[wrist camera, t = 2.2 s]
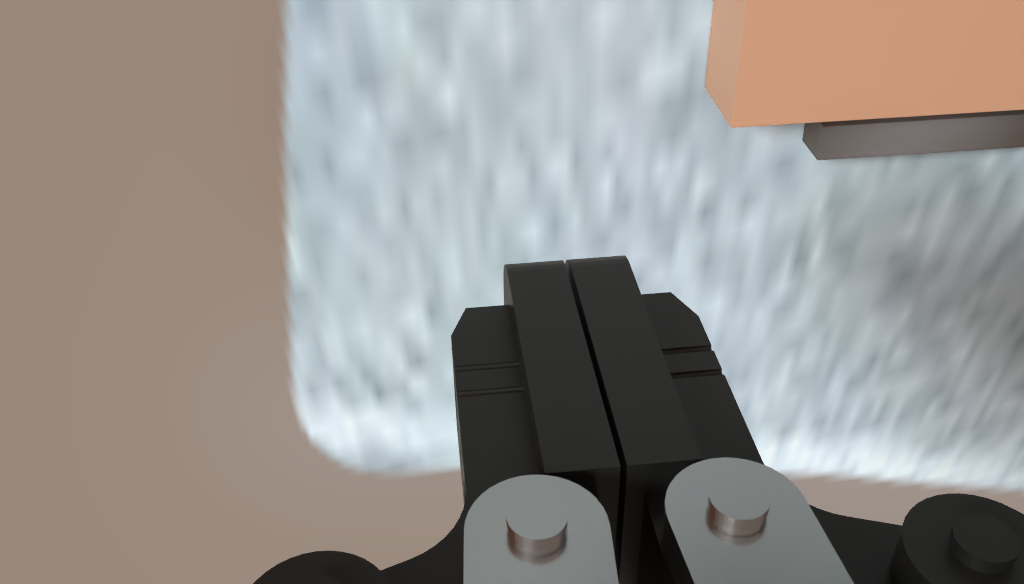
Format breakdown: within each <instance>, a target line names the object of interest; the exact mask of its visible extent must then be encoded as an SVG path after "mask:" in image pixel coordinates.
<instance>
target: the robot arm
mask: <svg viewBox="0 0 1024 584" xmlns="http://www.w3.org/2000/svg"><path fill="white" fill-rule="evenodd" d="M451 341H452V357H453V372H454V387H455V403H456V418H457V432H458V443H459V454H460V464H461V475H462V486H463V496H464V509H463V511H462V514H461V516H460V518H459V520H458V522H457V523H456V525H455V526H454V528H453V529H452V530H451V531H450V532H449V534H448V535H447V536H446V537H445V538H444V539H443V540H441V541H440V542H439V543H438V544H437V545H436V546H434V547H433V548H431V549H429V550H428V551H426V552H424V553H423V554H421V555H418V556H416V557H414V558H412V559H410V560H407V561H404V562H402V563H399V564H396V565H394V566H392V567H389V568H386V569H384V570H381V571H380V570H379V569H378V568H377V567H376V566H375V565H373V564H372V563H370V562H369V561H367V560H365V559H363V558H361V557H359V556H356V555H353V554H349V553H345V552H338V551H316V552H311V553H306V554H302V555H299V556H296V557H293V558H290V559H288V560H286V561H283V562H281V563H280V564H277V565H276V566H274V567H273V568H271V569H270V570H268V571H267V572H265V573H264V574H263V575H262V576H261V577H260V578H259V579H257V580H256V581H255V582H254V583H253V584H1024V514H1022V513H1020V512H1018V511H1016V510H1014V509H1012V508H1010V507H1008V506H1006V505H1004V504H1002V503H999V502H996V501H993V500H991V499H988V498H984V497H979V496H975V495H968V494H943V495H936V496H933V497H930V498H927V499H925V500H923V501H921V502H919V503H917V504H916V505H915V506H914V507H913V508H912V509H911V510H910V511H909V512H908V514H907V515H906V517H905V520H904V523H903V525H902V526H901V525H895V524H889V523H883V522H877V521H870V520H865V519H859V518H853V517H846V516H842V515H838V514H833V513H830V512H827V511H824V510H821V509H818V508H816V507H814V506H811V505H809V504H808V503H807V501H806V499H805V497H804V496H803V495H802V493H801V492H800V490H799V489H798V488H797V487H796V486H795V485H794V484H793V483H792V482H791V481H790V480H789V479H787V478H786V477H785V476H783V475H782V474H781V473H779V472H777V471H775V470H774V469H772V468H770V467H767V466H765V465H764V463H763V461H762V459H761V457H760V455H759V452H758V450H757V448H756V446H755V443H754V441H753V439H752V436H751V434H750V432H749V430H748V427H747V425H746V423H745V421H744V418H743V416H742V414H741V411H740V409H739V407H738V405H737V402H736V400H735V398H734V396H733V393H732V391H731V389H730V387H729V384H728V382H727V380H726V377H725V375H722V368H721V366H720V364H719V362H718V359H717V357H716V355H715V353H714V351H712V350H711V343H710V341H709V339H708V337H707V334H706V332H705V330H704V328H703V325H702V323H701V321H700V319H699V316H698V315H697V314H695V313H694V312H693V311H692V310H691V309H690V308H688V307H687V306H686V305H685V304H684V303H683V302H681V301H680V300H679V299H678V298H677V297H676V296H674V295H673V294H672V293H671V292H668V293H655V294H642V295H641V293H640V290H639V288H638V285H637V282H636V280H635V277H634V274H633V272H632V269H631V266H630V264H629V261H628V259H627V257H626V256H612V257H599V258H585V259H571V260H566V263H565V264H564V261H563V260H561V261H547V262H534V263H520V264H506V265H504V305H502V306H489V307H476V308H466V309H465V311H464V313H463V315H462V316H461V318H460V320H459V322H458V324H457V326H456V328H455V330H454V332H453V333H452V335H451Z"/></svg>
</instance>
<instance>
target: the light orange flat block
mask: <svg viewBox="0 0 1024 584" xmlns="http://www.w3.org/2000/svg"><path fill="white" fill-rule="evenodd" d="M705 88H706V90H707V91H708V93H709V94H710V96H711V97H712V99H713V101H714V102H715V104H716V105H717V107H718V108H719V110H720V111H721V113H722V115H723V116H724V118H725V119H726V121H727V122H728V124H729V125H730V127H731V128H734V127H750V126H766V125H782V124H798V123H814V122H830V121H847V120H863V119H879V118H895V117H911V116H927V115H943V114H960V113H976V112H992V111H1008V110H1024V0H714V3H713V13H712V22H711V32H710V42H709V51H708V61H707V71H706V80H705Z"/></svg>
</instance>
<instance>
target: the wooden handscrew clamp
mask: <svg viewBox="0 0 1024 584" xmlns="http://www.w3.org/2000/svg"><path fill="white" fill-rule="evenodd" d="M803 142H804V143H805V144H806V146H807V147H808V148H809V150H810V151H811V152H812V154H813V155H814V156H815V158H816V159H817V160H828V159H843V158H858V157H874V156H889V155H905V154H920V153H935V152H951V151H966V150H982V149H997V148H1012V147H1024V110H1008V111H992V112H976V113H960V114H943V115H927V116H911V117H895V118H879V119H863V120H847V121H830V122H814V123H805V128H804V134H803Z"/></svg>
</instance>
